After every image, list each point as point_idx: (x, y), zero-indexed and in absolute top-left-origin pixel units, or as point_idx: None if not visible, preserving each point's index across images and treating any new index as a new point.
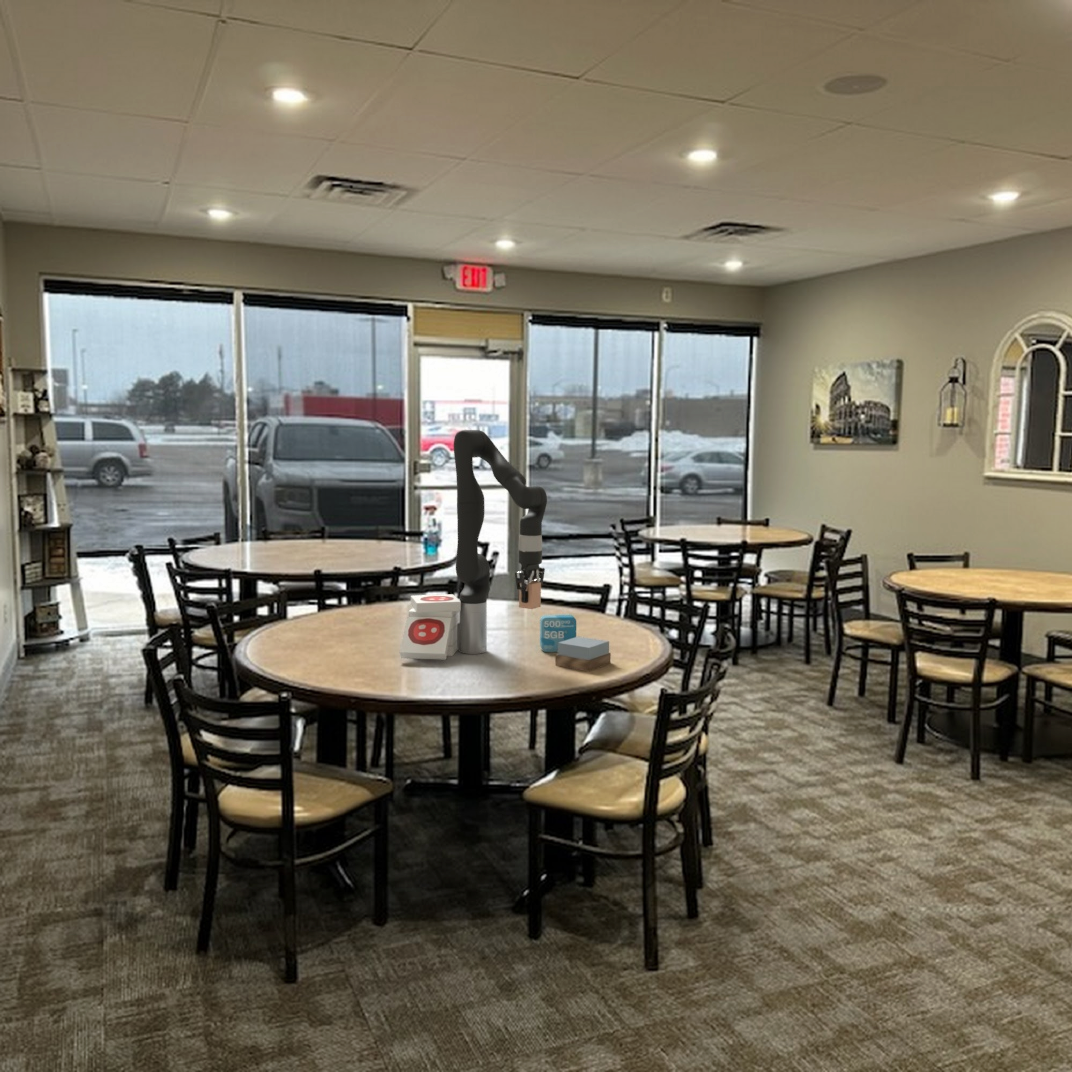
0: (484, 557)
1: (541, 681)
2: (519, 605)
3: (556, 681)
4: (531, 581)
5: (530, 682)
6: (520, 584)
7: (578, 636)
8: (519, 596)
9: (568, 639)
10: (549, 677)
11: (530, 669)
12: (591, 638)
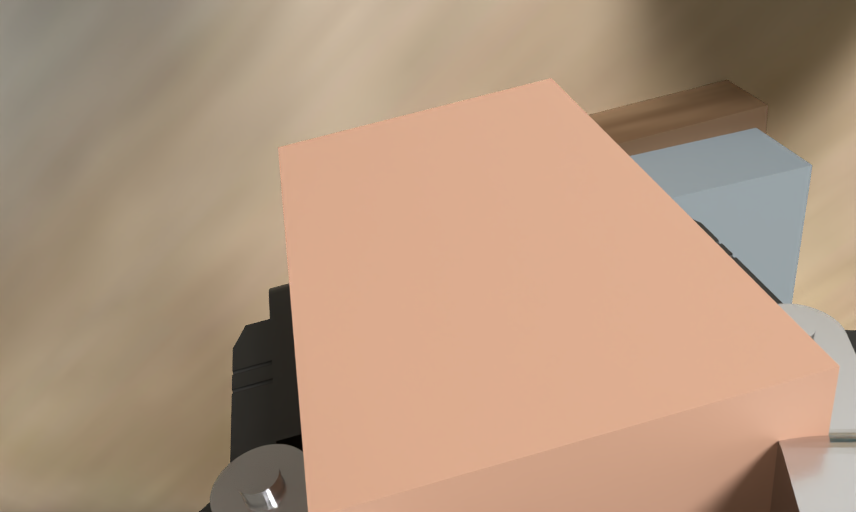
0: None
1: (110, 374)
2: (281, 172)
3: (188, 412)
4: (771, 503)
5: (32, 358)
6: (320, 503)
7: (811, 167)
8: (289, 261)
9: (672, 198)
10: (212, 337)
11: (242, 124)
12: (795, 272)
